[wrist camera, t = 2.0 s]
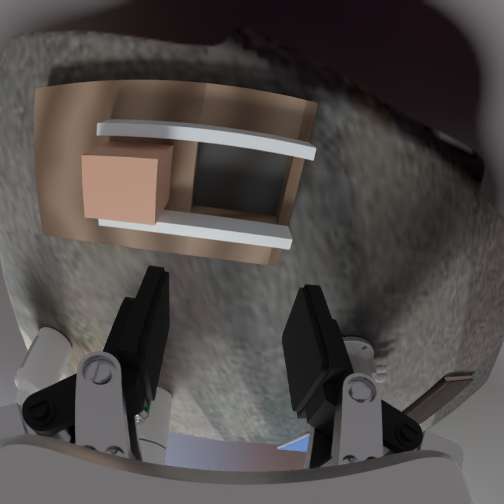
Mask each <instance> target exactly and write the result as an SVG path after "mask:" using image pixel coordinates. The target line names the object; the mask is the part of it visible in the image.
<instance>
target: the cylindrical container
mask: <svg viewBox="0 0 504 504" xmlns="http://www.w3.org/2000/svg"><path fill="white" fill-rule="evenodd" d="M171 403H172V395H171V394H170V393H169V392H168V391H166V390H164V389H162V388H160V387H157V391H156V396H155V400H154V401H151V406H150V412H149V417H148V418H146V419H145V422H144V424H141V425H137V427H138V434H139V441H140V447H141V453H142V459H143V462H149V463H154V464H160V465H164V464H165V455H166V444H167V436H168V427H169V419H170V411H171Z"/></svg>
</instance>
